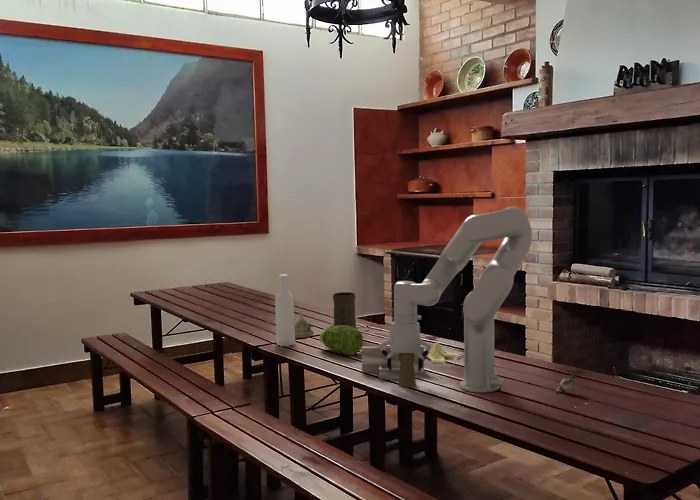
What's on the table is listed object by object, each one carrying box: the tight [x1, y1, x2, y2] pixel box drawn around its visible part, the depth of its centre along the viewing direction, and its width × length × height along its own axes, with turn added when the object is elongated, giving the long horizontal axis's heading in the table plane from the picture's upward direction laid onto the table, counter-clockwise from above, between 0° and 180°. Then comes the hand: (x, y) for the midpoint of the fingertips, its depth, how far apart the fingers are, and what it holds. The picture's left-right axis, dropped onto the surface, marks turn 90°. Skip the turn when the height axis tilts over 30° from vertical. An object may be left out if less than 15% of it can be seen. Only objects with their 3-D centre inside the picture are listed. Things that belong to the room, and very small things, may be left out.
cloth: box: [424, 342, 461, 365], centre depth 248 cm, size 22×19×6 cm
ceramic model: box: [294, 312, 314, 338], centre depth 295 cm, size 14×11×10 cm
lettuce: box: [319, 324, 364, 357], centre depth 260 cm, size 12×21×11 cm, turn 43°
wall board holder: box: [361, 345, 425, 380], centre depth 224 cm, size 10×22×9 cm, turn 87°
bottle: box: [274, 273, 296, 347], centre depth 274 cm, size 8×8×30 cm
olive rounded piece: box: [397, 354, 417, 388], centre depth 213 cm, size 6×6×11 cm
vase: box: [554, 374, 577, 392], centre depth 201 cm, size 5×5×6 cm
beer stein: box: [332, 291, 357, 328], centre depth 289 cm, size 15×11×20 cm
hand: (404, 369), depth 213 cm, fingers open, 9 cm apart
